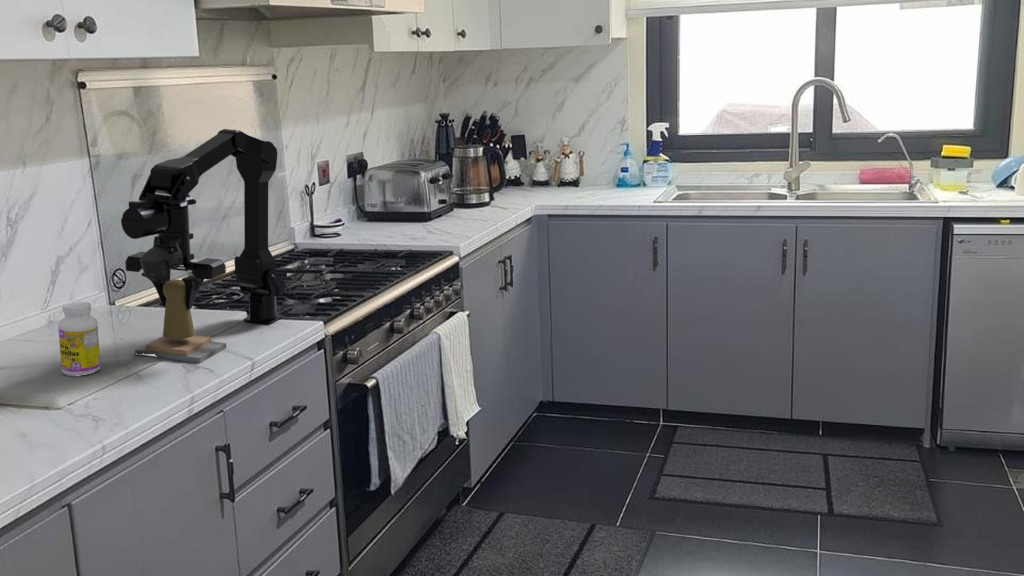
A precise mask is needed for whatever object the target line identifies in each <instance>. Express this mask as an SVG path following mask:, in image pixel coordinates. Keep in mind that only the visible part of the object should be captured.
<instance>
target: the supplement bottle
mask: <svg viewBox="0 0 1024 576" xmlns="http://www.w3.org/2000/svg"><path fill="white" fill-rule="evenodd" d="M91 311H92V305H91V303H90V302H88V301H70V302H67V303H65V304H63V305H62V312H63V314H64V317H62V318H61V319H60V320H59V322H58V325H57V326H58V341H59V354H60V365H61V366H60V368H61V373H63V374H64V375H65V376H69V377H77V376H76V375H84V374H89V373H93V372H95V371H97V370H99V371H100V369H101V354H100V353H101V352H100V339H99V324H98V323H99V322H98V320H97V318H96V317H95V316H93V315H92V314H91ZM97 372H98V371H97ZM93 374H94V373H93Z"/></svg>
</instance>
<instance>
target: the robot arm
mask: <svg viewBox="0 0 1024 576" xmlns="http://www.w3.org/2000/svg"><path fill="white" fill-rule="evenodd" d="M230 156H231V157H233V158H235V163H236V164H235V165H236V169H237V171H238V173H239V175H240V176H241V179H242V180H243V184H244V185H243V187H244V188H243V189H244V194H243V195H244V202H243V204H244V205H243V208H244V211H243V212H244V213H243V214H244V215H243V216H244V220H243V221H244V222H243V224H244V226H243V227H244V228H243V229H244V234H243V235H244V239H243V240H244V242H243V243H244V246H243V249H242V251H241V253H240V254H239V256H238V255H237V256H235V257H234V272H233V275H234V276H235V280H236V282H237V284H238V287H239V290H240V292H241V293H248V294H249V295H248V297H249V301H248V303H249V304H248V305H249V310H248V311H249V315H248V316H246V317H245V318H243V322H246V323H247V322H248V323H256V324H266V325H272V324H273V323H275V322H276V321H278V320H280V319H281V318H283V314H282V313H281V314H280V313H277V297H281V296H282V294H284V293H285V292H286V285H287V284H286V282H285V281H284V280H283V278H281V276H280V275H279V274H278V272H277V265H276V260H275V258H274V256H273V254H272V252H271V251H270V249H269V182H270V181H271V179H272V177H273V175H274V174H275V172H276V170H277V162H278V150H277V147H276V146H275V145H274V143H273V142H271V141H268V140H262V139H260V138H256V137H254V136H252V135H249V134H247V133H245V132H244V131H241V130H238V129H230V128H224V129H221V130H219V131H218V132H217V134H216V135H214V136H213V137H211V138H209V139H208V140H206V141H205V142H203V143H202V144H200V145H199V146H197V147H196V148H194V149H193V150H191V151H189V152H188V153H186V154H185V155H184V156H181V157H179V158H178V157H177V158H172V159H167V160H164V161H162V162H159V163H157V164H154V165H153V167H151V168H150V173H149V175H148V176H147V180H146V182H145V184H144V187H143V188H142V191H141V192H140V194H139V196H138V200H137V201H136V200H132V201H129V202H128V208H127V209H125V210H124V211H123V213H122V217H121V219H120V223H121V228H122V230H123V232H124V233H125V235H126V236H127V237H129V238H130V239H133V240H136V239H137V240H138V239H141V238H145V237H151V236H154V237H153V246H152V247H151V248H149V249H148V250H147V251H139V252H137V253H136V252H135V253H133V254H130V255H128V256H127V257H126V258H125V261H124V267H125V268H124V269H125V271H126V272H132V273H133V272H134V273H140V272H141V271H143V272H141V273H140V275H141V276H142V277H144V278H147V280H149V281H150V282H151V283H152V284H153V286H154V288H155V290H156V292H157V295H158V297H159V300H160V301H161V303H162V305H163V307H164V308H165V306H166V297H165V296H164V294H163V285H164V283H166V282H167V281H170V280H171V270H174V271H181V272H182V271H183V272H187V275H186V276H183V277H182V278H181V280H183V282H184V283H185V290H186V307H187V309H188V310H189V309H190V310H191V309H192V308H193V305H194V303H195V301H196V298H197V295H198V293H199V291H200V289H201V287H202V285H203V284H204V282H205V280H214V279H216V278H218V277H221V276H223V275H225V274H226V273H227V268H226V267H227V266H226V263H225V262H224V260H223V259H221V258H220V259H218V258H211V257H210V258H209V257H205V258H203V259H200V260H198V261H193V260H195V253H191V242H190V241H191V240H192V239H194V233H193V232H190V219H189V217H190V216H189V214H190V213H189V206H191V205H192V206H193V205H195V204H197V200H196V199H194V198H193V197H192V196H191V195H190V193H191V192H192V191H193V190H194V189H195V188H196V187H197V186H198V185H199V181H200V178H201V176H202V175H204V174H205V173H207V172H208V171H209V170H211V169H212V168H214V167H215V166H217V165H218V164H219V163H221V162H222V161H224V160H226V159H227V158H228V157H230Z"/></svg>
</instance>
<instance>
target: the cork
mask: <svg viewBox="0 0 1024 576" xmlns="http://www.w3.org/2000/svg"><path fill="white" fill-rule="evenodd" d="M163 294H164V296H165V297H166V306H165V307H164V308H165V309H164V319H163V330H162V337H165V338H168V339H185V338H189V337H192V336H194V335H195V327H194V322H193V316H192V313H191V309H189V310H188V309H187V307H186V290H185V283H184V282H183V280H182V279H170V281H167V282H166V283H164V285H163ZM195 336H196V335H195Z"/></svg>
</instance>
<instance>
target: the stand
mask: <svg viewBox="0 0 1024 576" xmlns="http://www.w3.org/2000/svg"><path fill="white" fill-rule="evenodd" d="M225 349H227V343H226V342H219V341H213V340H212V337H210V336H202V335H194V336H192V337H189V338H185V339H168V338H165V337H163V336H161V337H159V338H156V339H154V340H153V341H150V342H148V343H147V344H145V345H143V346H141V347H138V348H136V349H135V353H134V354H136V353H137V354H143V353H144V354H155V355H156V356H157V358H158V359H165V360H173V361H174V360H175V361H180V362H190V363H197V364H201V363H203V362H204V361H206V360H208V359H209V358H211V357H213V356H215V355H217V354H218V353H220V352H222V351H223V350H225ZM157 358H156V359H157Z"/></svg>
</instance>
